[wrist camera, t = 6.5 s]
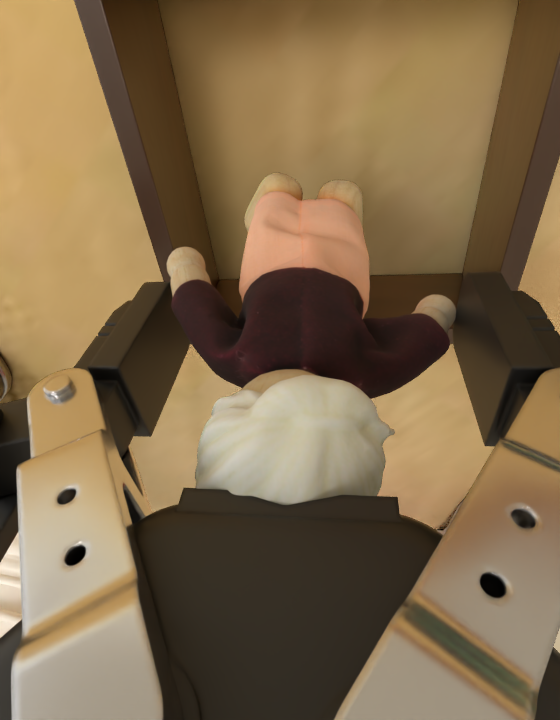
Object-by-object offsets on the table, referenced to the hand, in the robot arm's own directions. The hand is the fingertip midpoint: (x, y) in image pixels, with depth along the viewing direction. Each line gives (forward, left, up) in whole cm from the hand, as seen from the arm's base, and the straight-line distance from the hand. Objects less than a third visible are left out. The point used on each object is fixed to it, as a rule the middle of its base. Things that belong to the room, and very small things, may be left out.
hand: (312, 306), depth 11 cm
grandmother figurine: (0, 0, -6) cm, 6 cm away
